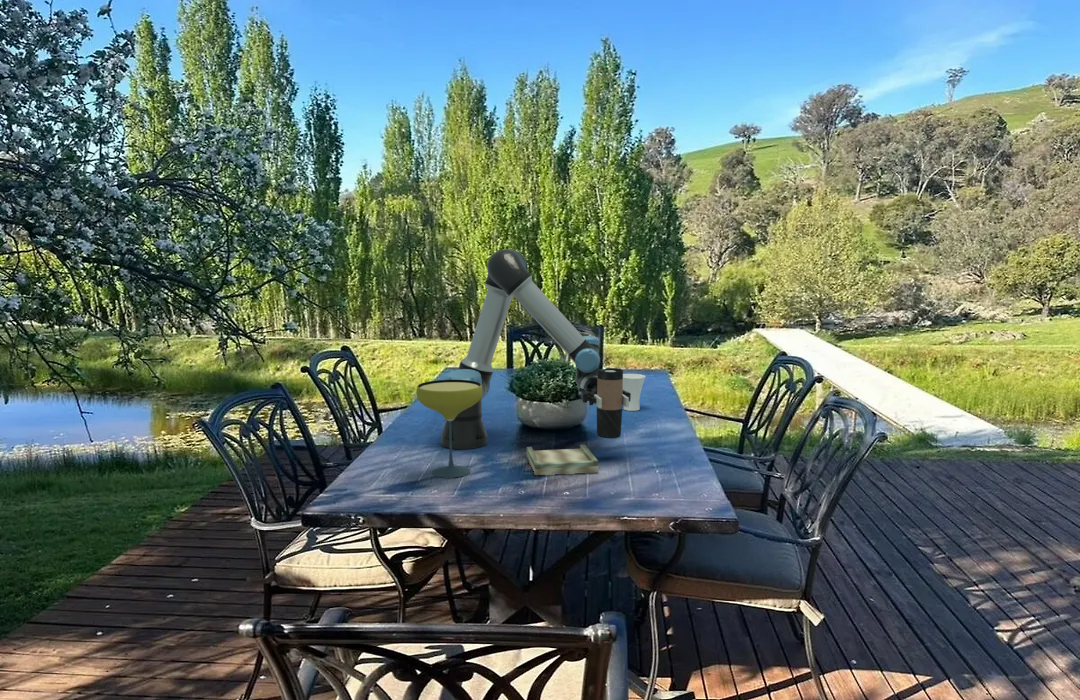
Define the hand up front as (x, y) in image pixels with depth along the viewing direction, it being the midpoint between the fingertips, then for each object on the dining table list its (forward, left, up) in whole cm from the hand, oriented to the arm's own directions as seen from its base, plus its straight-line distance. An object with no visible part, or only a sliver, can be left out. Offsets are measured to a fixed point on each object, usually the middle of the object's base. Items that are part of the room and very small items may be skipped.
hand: (614, 403), depth 201 cm
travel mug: (0, +5, -11) cm, 12 cm away
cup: (+25, +68, -18) cm, 75 cm away
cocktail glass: (-48, -2, -18) cm, 51 cm away
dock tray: (-16, 0, -18) cm, 24 cm away
